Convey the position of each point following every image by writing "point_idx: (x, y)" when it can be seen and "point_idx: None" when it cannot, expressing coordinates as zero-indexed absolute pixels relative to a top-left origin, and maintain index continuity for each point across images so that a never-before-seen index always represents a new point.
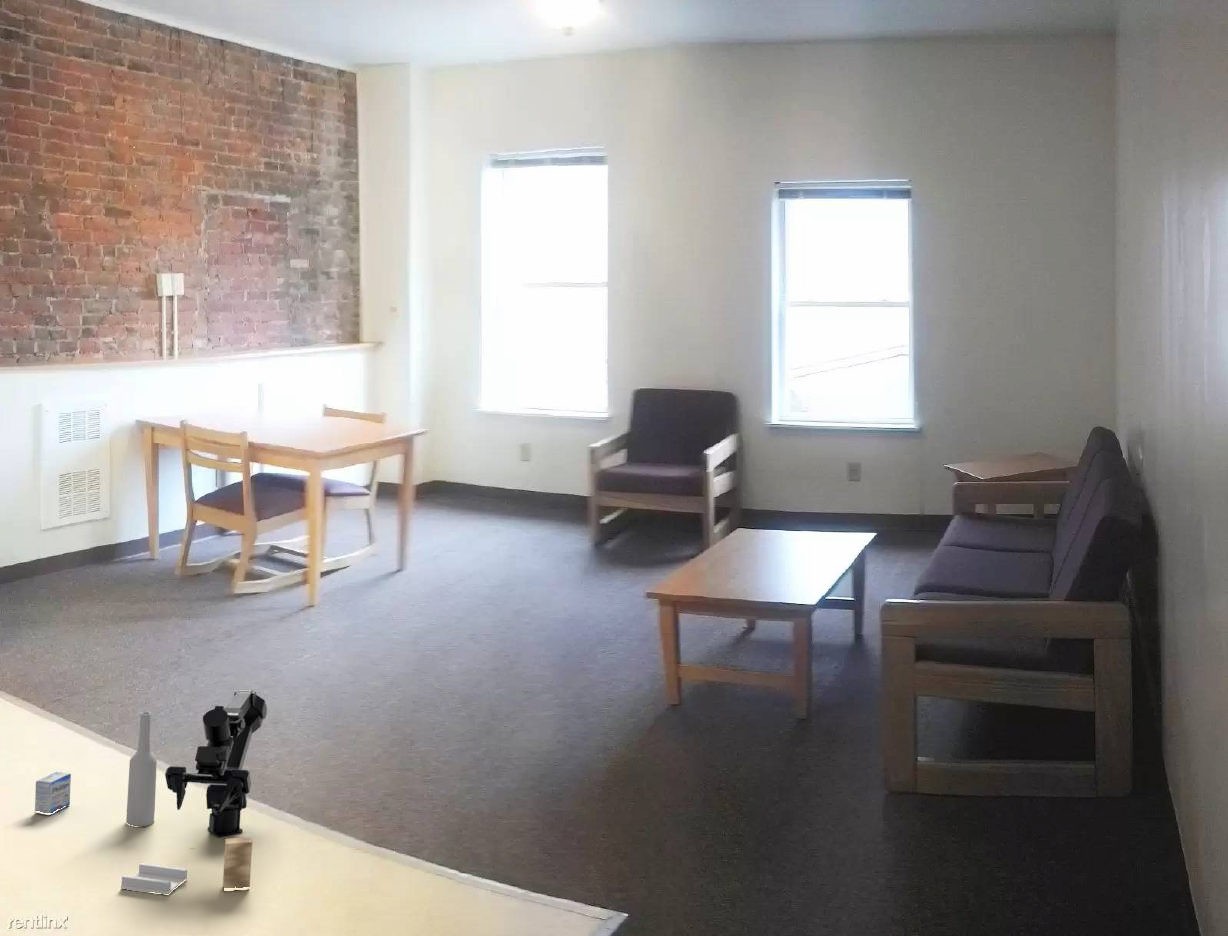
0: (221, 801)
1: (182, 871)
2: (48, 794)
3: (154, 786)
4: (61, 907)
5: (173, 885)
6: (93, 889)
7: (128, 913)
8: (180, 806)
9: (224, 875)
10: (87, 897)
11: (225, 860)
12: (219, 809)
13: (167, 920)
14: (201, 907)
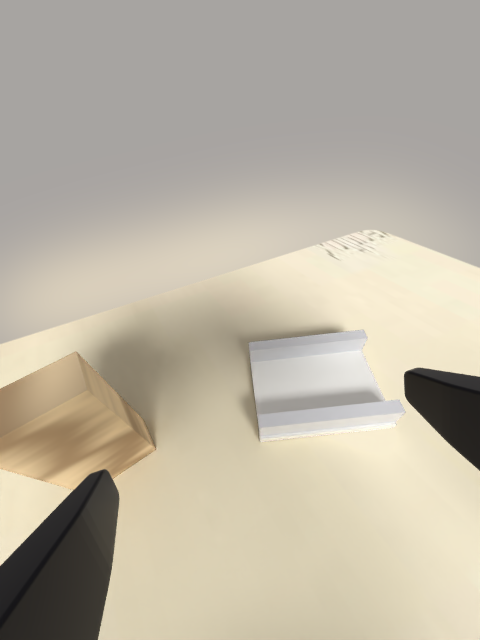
0: (51, 534)
1: (264, 415)
2: None
3: None
4: (373, 270)
5: (260, 383)
6: (399, 327)
7: (268, 290)
8: (432, 415)
9: (127, 404)
10: (374, 303)
11: (105, 382)
12: (96, 472)
13: (198, 295)
14: (164, 345)
